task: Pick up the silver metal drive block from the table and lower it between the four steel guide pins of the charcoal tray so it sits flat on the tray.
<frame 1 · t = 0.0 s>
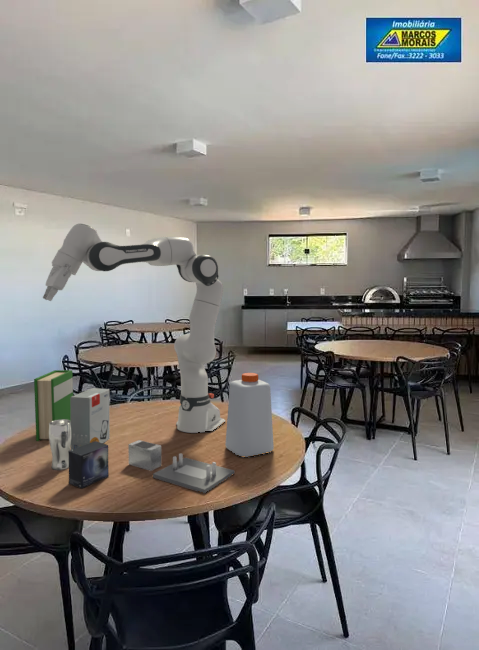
hand: (46, 299, 159), 54 cm above the table, tool tilted 30°, fingers open, 8 cm apart
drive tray: (194, 475, 144), on the table
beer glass: (61, 467, 150), on the table
plastic bottle: (249, 450, 167), on the table
hard drive box: (91, 445, 170), on the table
drive block: (145, 465, 152), on the table
hardback book: (56, 434, 183), on the table
small box: (89, 481, 140), on the table
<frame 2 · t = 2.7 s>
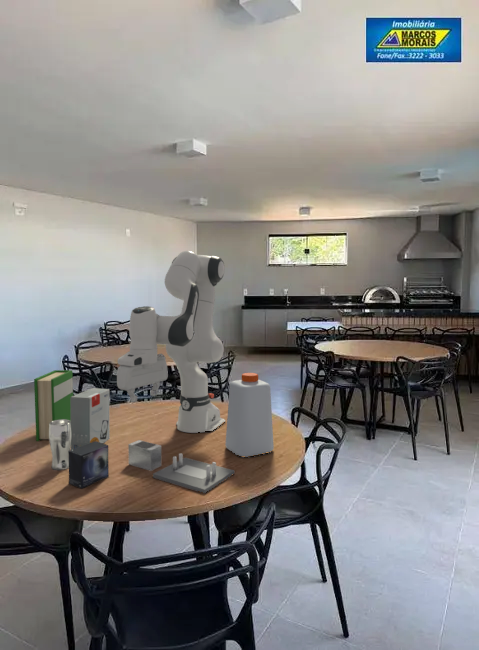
hand: (144, 398, 150), 23 cm above the table, tool pointing down, fingers open, 8 cm apart
nothing on the table moved.
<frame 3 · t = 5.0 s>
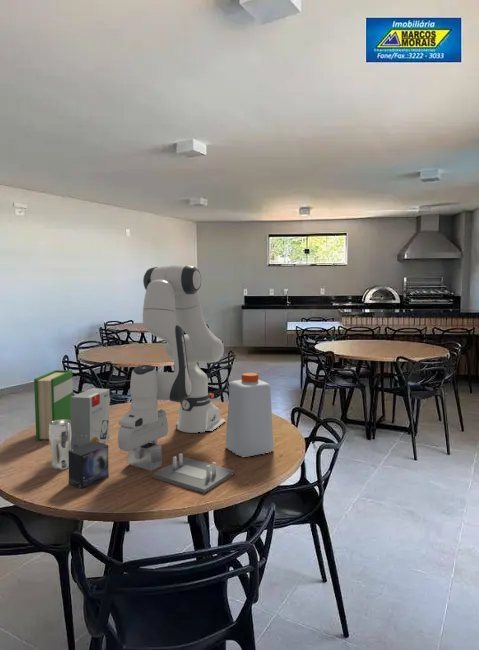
hand: (144, 455, 152), 3 cm above the table, tool pointing down, fingers closed on drive block, 5 cm apart
drive block: (145, 465, 152), on the table, touching gripper
everything else where it was.
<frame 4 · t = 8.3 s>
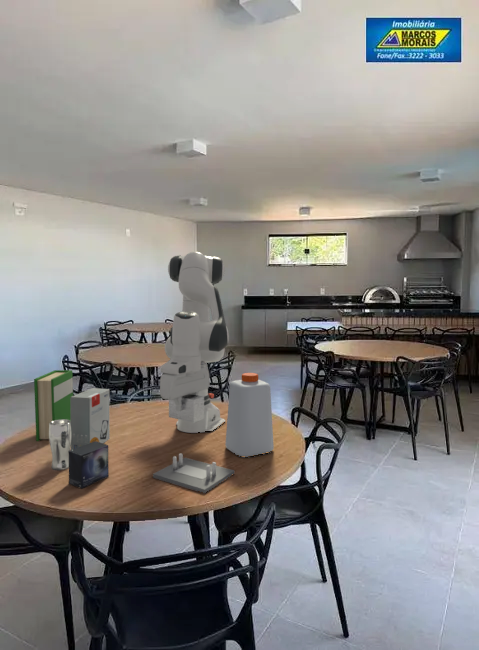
hand: (186, 408, 143), 22 cm above the table, tool pointing down, fingers closed on drive block, 5 cm apart
drive block: (186, 417, 143), point 18 cm above the table, touching gripper
everything else where it was.
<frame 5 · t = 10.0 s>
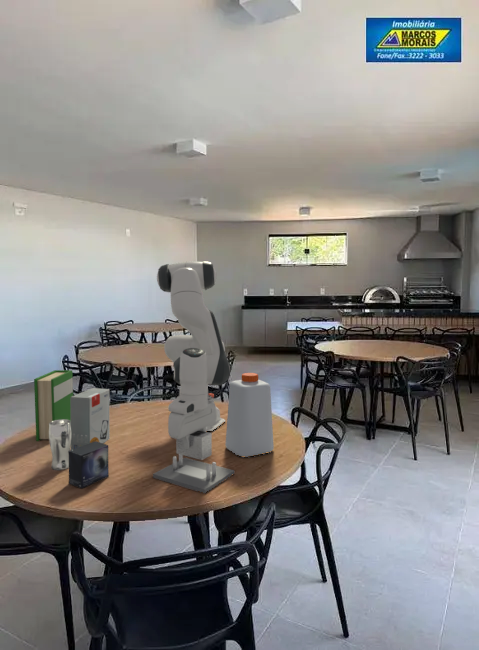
hand: (193, 444, 143), 10 cm above the table, tool pointing down, fingers closed on drive block, 5 cm apart
drive block: (193, 454, 143), point 7 cm above the table, touching gripper
everything else where it was.
when the fingers open (6 cm above the table, at t = 11.4 s): drive block drops 1 cm, resting on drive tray.
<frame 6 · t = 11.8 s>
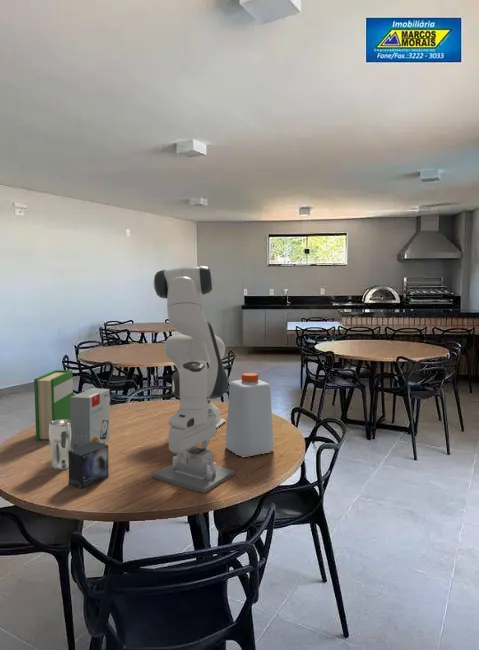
hand: (194, 458, 143), 6 cm above the table, tool pointing down, fingers open, 8 cm apart
drive block: (194, 471, 144), point 1 cm above the table, touching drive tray
everything else where it was.
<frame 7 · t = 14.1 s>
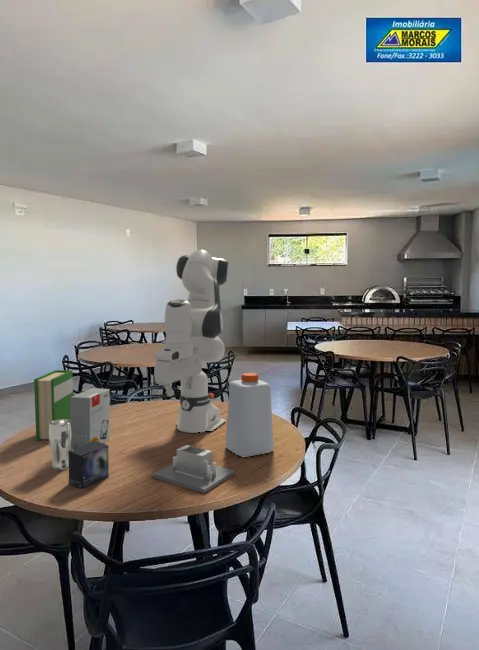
hand: (179, 392, 149), 25 cm above the table, tool pointing down, fingers open, 8 cm apart
nothing on the table moved.
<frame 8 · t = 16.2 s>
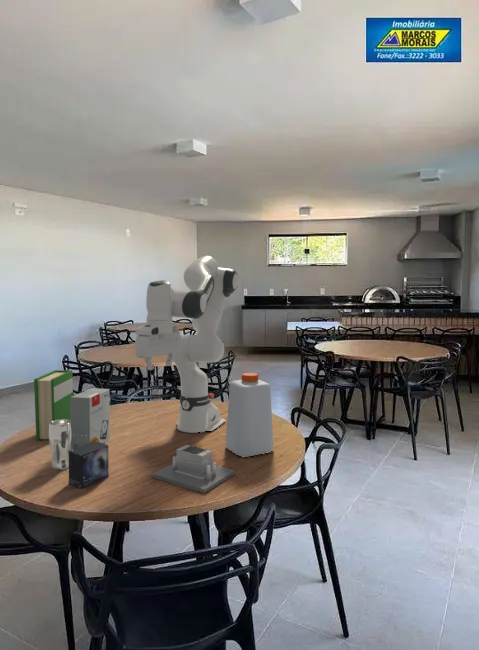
hand: (159, 367, 159), 31 cm above the table, tool pointing down, fingers open, 8 cm apart
nothing on the table moved.
at the end: drive block 0.1 cm off-centre on the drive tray, point 1.3 cm above the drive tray's base; drive block tilted 0°; the gripper is holding nothing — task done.
